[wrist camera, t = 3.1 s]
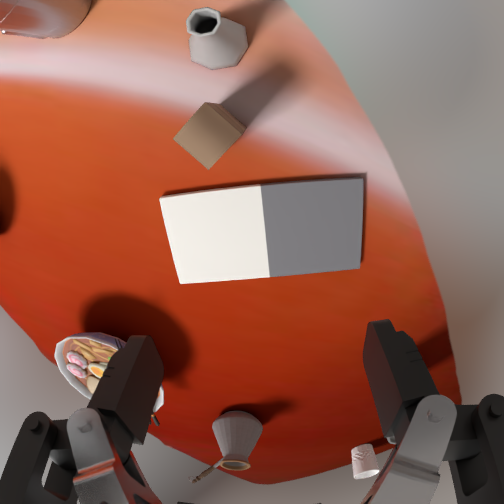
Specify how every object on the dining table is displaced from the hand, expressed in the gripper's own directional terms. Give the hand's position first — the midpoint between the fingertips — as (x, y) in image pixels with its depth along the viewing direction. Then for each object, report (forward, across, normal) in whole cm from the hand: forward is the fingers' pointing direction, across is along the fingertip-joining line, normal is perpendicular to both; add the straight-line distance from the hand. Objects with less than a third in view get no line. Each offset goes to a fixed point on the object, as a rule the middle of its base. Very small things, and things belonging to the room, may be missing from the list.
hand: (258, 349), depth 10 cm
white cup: (+30, -24, +82) cm, 90 cm away
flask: (+29, +3, -17) cm, 34 cm away
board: (+29, 0, +8) cm, 30 cm away
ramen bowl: (+29, +31, +30) cm, 52 cm away
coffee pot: (+30, +14, +57) cm, 65 cm away
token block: (+29, +4, -6) cm, 30 cm away
